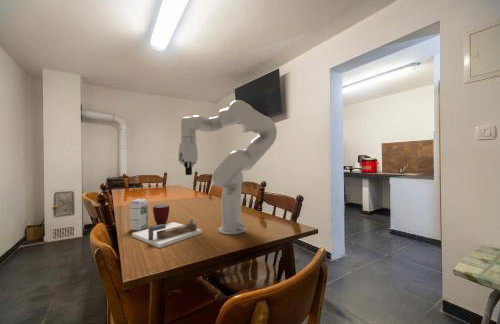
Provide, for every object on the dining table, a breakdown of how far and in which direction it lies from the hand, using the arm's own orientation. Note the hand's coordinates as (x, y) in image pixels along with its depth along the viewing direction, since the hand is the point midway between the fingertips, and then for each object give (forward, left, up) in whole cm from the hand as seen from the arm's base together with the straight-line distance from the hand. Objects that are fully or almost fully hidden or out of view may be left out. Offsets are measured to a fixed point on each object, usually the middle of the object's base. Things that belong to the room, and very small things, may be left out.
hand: (188, 174), depth 119 cm
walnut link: (-12, +15, -25) cm, 31 cm away
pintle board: (-5, +16, -27) cm, 32 cm away
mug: (+13, +8, -27) cm, 31 cm away
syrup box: (+15, +19, -27) cm, 36 cm away
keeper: (-9, +24, -25) cm, 36 cm away
